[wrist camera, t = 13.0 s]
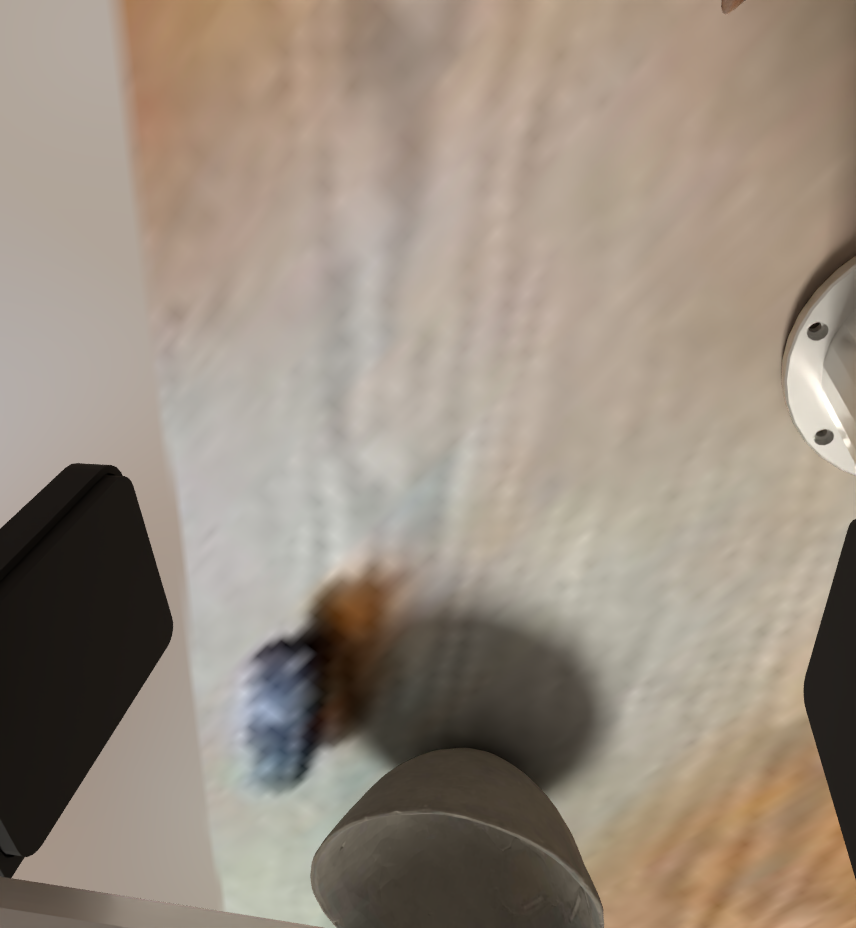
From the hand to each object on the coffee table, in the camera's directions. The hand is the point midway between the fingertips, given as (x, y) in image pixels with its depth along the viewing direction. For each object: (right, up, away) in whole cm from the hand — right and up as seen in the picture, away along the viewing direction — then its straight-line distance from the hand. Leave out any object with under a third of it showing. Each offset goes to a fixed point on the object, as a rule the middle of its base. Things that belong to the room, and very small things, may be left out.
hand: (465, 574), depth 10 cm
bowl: (+3, -21, +47) cm, 52 cm away
